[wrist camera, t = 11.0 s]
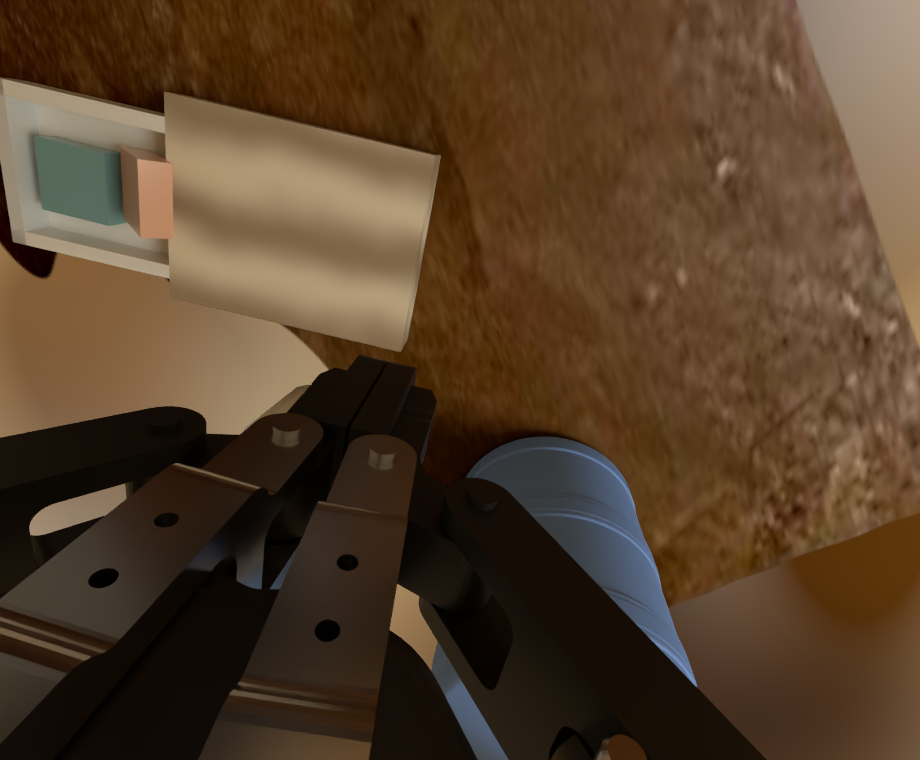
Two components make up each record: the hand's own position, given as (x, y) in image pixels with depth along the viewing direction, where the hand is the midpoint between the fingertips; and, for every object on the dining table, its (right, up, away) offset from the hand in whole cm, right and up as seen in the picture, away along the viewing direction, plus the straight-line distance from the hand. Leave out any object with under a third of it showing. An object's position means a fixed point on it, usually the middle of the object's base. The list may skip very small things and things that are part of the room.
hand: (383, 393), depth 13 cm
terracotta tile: (-19, +14, +23) cm, 33 cm away
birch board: (-10, +12, +25) cm, 30 cm away
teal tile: (-26, +14, +23) cm, 37 cm away
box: (-24, +15, +25) cm, 38 cm away
